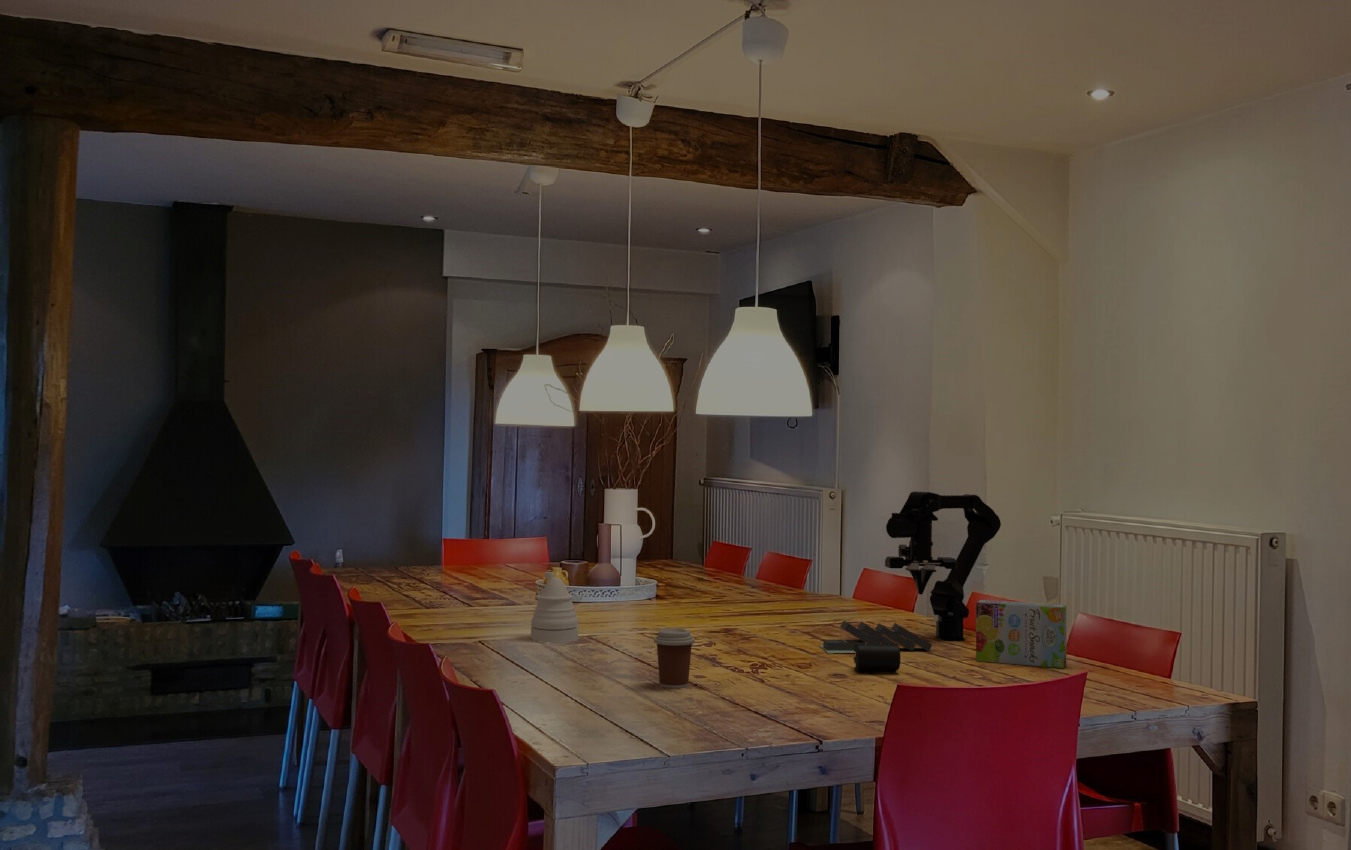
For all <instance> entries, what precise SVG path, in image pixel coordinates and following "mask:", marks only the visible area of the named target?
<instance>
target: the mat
mask: <svg viewBox="0 0 1351 850" xmlns="http://www.w3.org/2000/svg"><path fill="white" fill-rule="evenodd" d="M819 646H820V647H819ZM818 647H819V648H821V647H822V648H823V649H822V648H821V649H822V650H823V651H824V650H825V651H826V652H827V655H834V654H833V653H856V652H855V651H854V650H833V651H827V650H826V649H825V648H824V647H823V644H818ZM825 651H824V652H825ZM826 652H825V653H826Z"/></svg>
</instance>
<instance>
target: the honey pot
mask: <svg viewBox="0 0 1351 850" xmlns="http://www.w3.org/2000/svg"><path fill="white" fill-rule="evenodd" d="M543 574H544V577H545V578H546V580H548V581H547V583H546V584H545V586H544V587H543V590H542V591H541V593H540V594H537V595H535V599H536V600H538V601H537V604H536V606H535V608H534V610H535V611H534V613H533V617H532V618H531V621H530V623H531V625H530V626H531V627H530V640H531V639H532V640H534V641H533V642H535V641H542V642H550V643H549V644H564V643H563V642H566V643H572V641H573V642H576V641H578V640H579V618H578V616H577V612H576V608H575V606H574V603H573V595H572V594H570V593H569V591H568V588H567V586H566V585H565V583H564V582H563V580H561V579H560V578H559V577H554V576H555V575H554V574H555V573H554V571H545V572H544V573H543ZM532 640H531V641H532ZM542 642H541V643H542ZM551 642H552V643H551ZM561 642H562V643H561Z"/></svg>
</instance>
